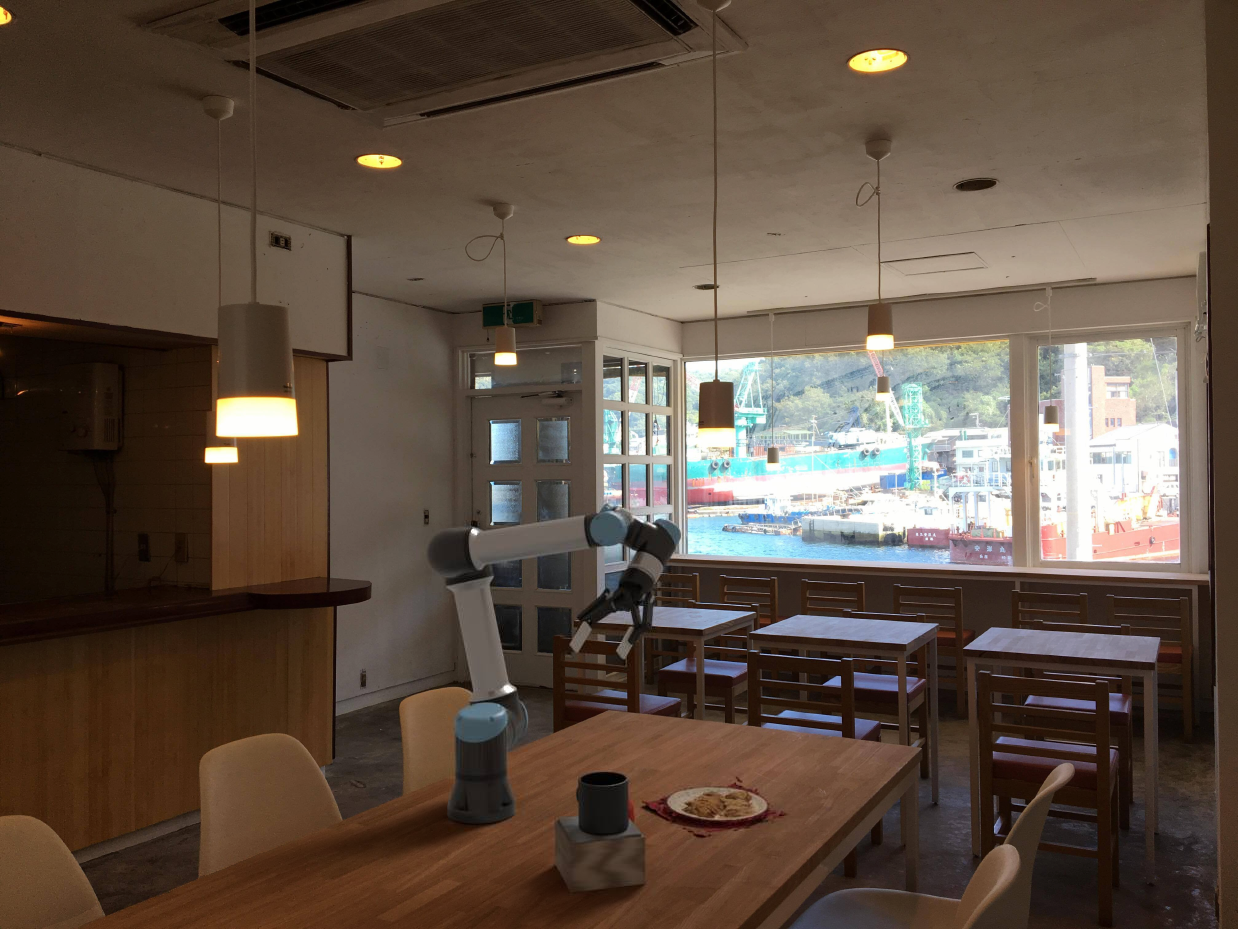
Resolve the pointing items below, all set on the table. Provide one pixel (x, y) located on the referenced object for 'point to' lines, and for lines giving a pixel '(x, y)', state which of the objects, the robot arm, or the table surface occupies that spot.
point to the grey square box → (598, 857)
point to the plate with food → (715, 807)
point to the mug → (603, 803)
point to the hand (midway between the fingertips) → (596, 652)
